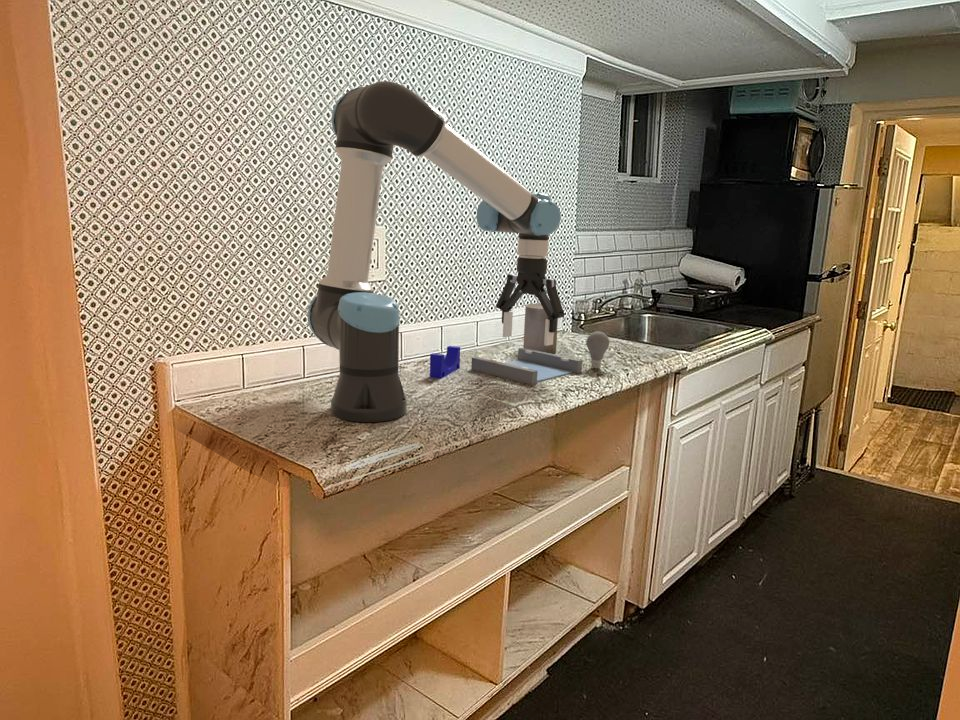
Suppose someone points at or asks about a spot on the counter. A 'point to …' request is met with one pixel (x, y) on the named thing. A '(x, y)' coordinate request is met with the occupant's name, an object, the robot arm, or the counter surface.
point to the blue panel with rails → (529, 366)
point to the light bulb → (597, 347)
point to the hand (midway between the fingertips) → (527, 340)
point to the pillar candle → (537, 329)
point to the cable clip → (445, 362)
